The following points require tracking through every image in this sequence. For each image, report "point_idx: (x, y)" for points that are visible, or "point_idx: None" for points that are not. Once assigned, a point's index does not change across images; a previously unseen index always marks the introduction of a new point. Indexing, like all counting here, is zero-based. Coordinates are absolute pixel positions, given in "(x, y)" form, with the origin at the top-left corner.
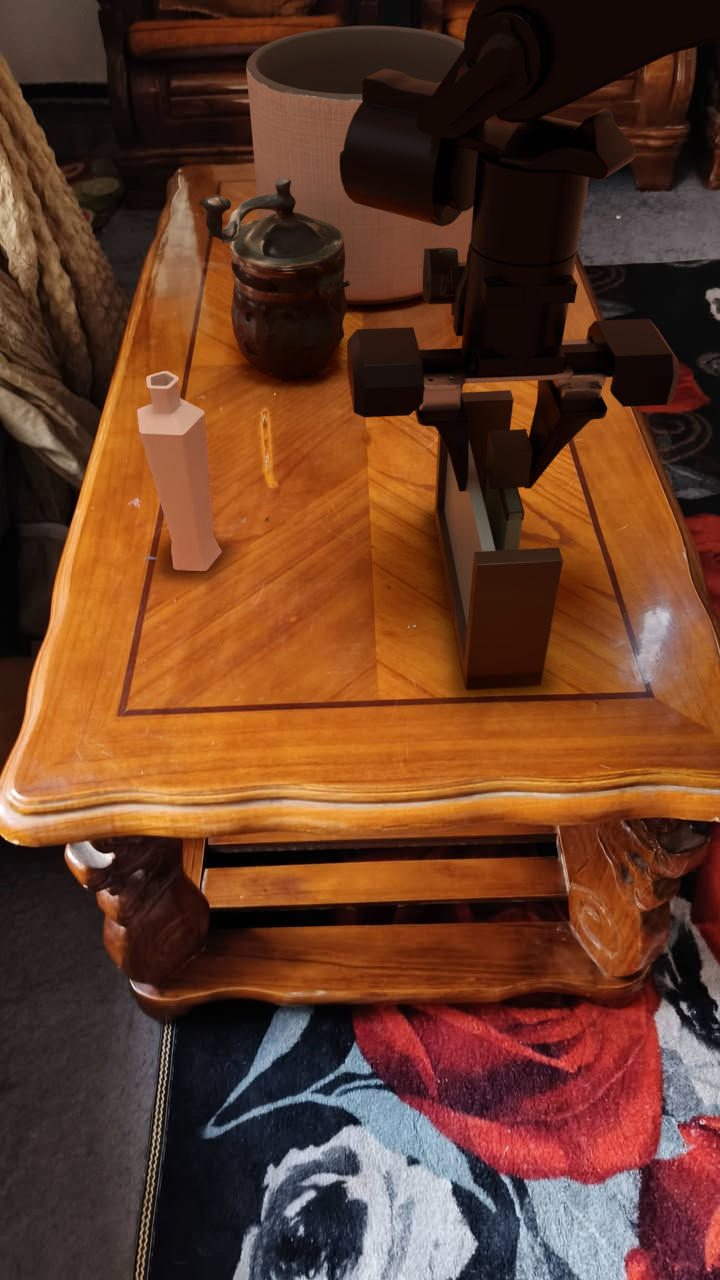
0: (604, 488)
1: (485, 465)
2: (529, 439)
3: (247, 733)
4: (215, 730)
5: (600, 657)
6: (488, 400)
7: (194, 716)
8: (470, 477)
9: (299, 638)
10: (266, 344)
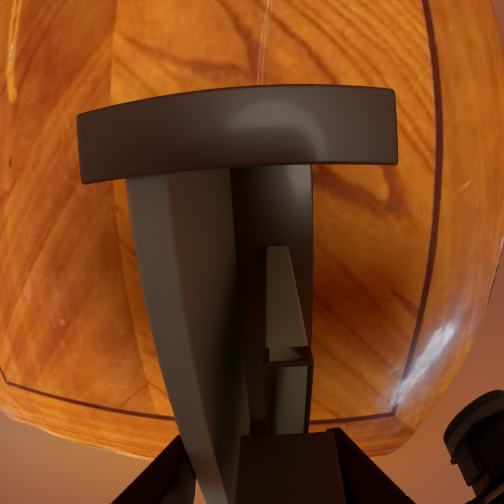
0: (459, 99)
1: (240, 439)
2: (353, 502)
3: (76, 416)
4: (57, 409)
5: (370, 385)
6: (283, 163)
7: (41, 396)
8: (202, 471)
9: (74, 346)
10: None
